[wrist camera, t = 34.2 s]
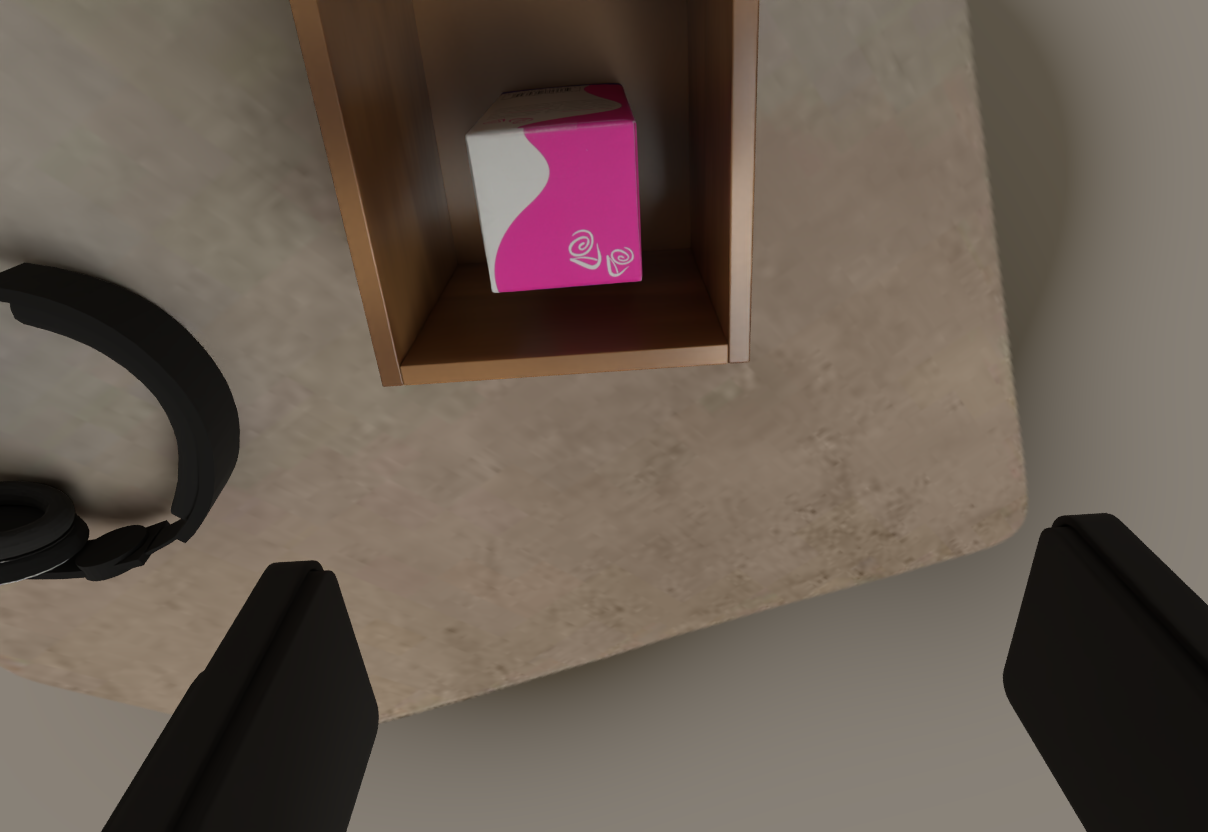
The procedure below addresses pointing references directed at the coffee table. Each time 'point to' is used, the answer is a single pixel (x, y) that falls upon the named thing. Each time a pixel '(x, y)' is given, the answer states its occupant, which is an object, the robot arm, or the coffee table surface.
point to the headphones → (173, 375)
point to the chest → (446, 195)
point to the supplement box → (558, 188)
